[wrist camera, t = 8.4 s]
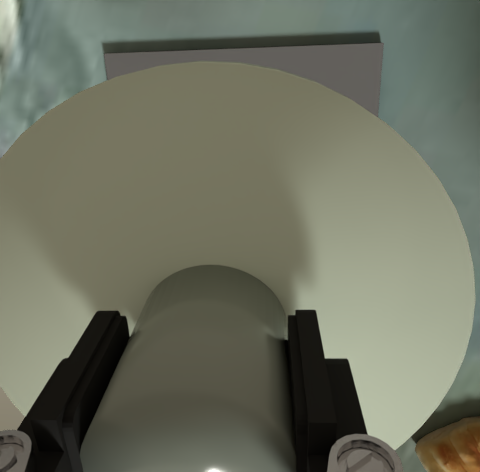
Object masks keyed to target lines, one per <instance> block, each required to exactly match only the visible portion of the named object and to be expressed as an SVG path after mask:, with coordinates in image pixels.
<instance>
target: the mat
mask: <svg viewBox="0 0 480 472" xmlns="http://www.w3.org/2000/svg"><path fill="white" fill-rule="evenodd" d="M383 45H384V43H365V44H339V45H313V46H287V47H261V48H235V49H209V50H183V51H157V52H131V53H106V54H104V58H105V65H106V72H107V79H108V80H110V79H112V78H114V77H118V76H121V75H125V74H129V73H133V72H137V71H141V70H145V69H149V68H152V67H156V66H160V65H166V64H175V63H184V62H193V61H225V62H242V63H248V64H254V65H259V66H265V67H271V68H277V69H280V70H283V71H286V72H289V73H292V74H295V75H299V76H302V77H305V78H308V79H311V80H314V81H316V82H318V83H320V84H322V85H324V86H326V87H328V88H330V89H332V90H334V91H337V92H339V93H341V94H343V95H345V96H347V97H348V98H350V99H351V100H353V101H354V102H356V103H357V104H359V105H360V106H362V107H363V108H365V109H366V110H368V111H369V112H371V113H372V114H374V115H375V116H376V117H378V108H379V95H380V83H381V70H382V58H383Z"/></svg>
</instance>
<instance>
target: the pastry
mask: <svg viewBox="0 0 480 472" xmlns="http://www.w3.org/2000/svg"><path fill="white" fill-rule="evenodd" d="M415 451H416V453H417V455H418V457H419V459H420V461H421V463H422V464H423V466H424V468H425V469H426V470H427V471H428V472H480V416H478V417H466V418H462V419H461V420H460V421H459V422H455V423H452V424H450V425H448V426H445V427H443V428H439V429H437V430H435V431H433V432H431V433H429V434H427V435H425V436H424V437H423V438H421V439H420V440H419V441H418V442H417V445H416V447H415Z"/></svg>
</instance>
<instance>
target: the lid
mask: <svg viewBox="0 0 480 472" xmlns="http://www.w3.org/2000/svg"><path fill="white" fill-rule="evenodd" d="M474 307H475V283H474V268H473V263H472V259H471V254H470V249H469V244H468V239H467V237H466V234H465V231H464V229H463V226H462V224H461V221H460V218H459V216H458V213H457V211H456V208H455V206H454V205H453V203H452V201H451V199H450V198H449V196H448V194H447V192H446V191H445V189H444V187H443V186H442V184H441V182H440V180H439V179H438V177H437V176H436V175H435V174H434V172H433V171H432V170H431V169H430V167H429V166H428V165H427V164H426V162H425V161H424V160H423V159H422V157H421V156H420V155H419V154H418V152H417V151H416V150H415V149H414V148H413V147H412V146H411V145H410V144H409V143H407V142H406V141H405V140H404V139H403V138H402V137H401V136H400V135H399V134H398V133H397V132H395V131H394V130H393V129H392V128H391V127H390V126H389V125H388V124H387V123H385V122H384V121H382V120H381V119H379V118H378V117H376V116H375V115H374V114H372V113H371V112H369V111H368V110H366V109H365V108H363V107H362V106H360V105H359V104H357V103H356V102H354V101H353V100H351V99H350V98H348V97H347V96H345V95H343V94H341V93H339V92H337V91H334V90H332V89H330V88H328V87H326V86H324V85H322V84H320V83H318V82H316V81H314V80H311V79H308V78H305V77H302V76H299V75H295V74H292V73H289V72H286V71H283V70H280V69H277V68H271V67H265V66H259V65H254V64H248V63H242V62H225V61H193V62H184V63H175V64H166V65H160V66H156V67H152V68H149V69H145V70H141V71H137V72H133V73H129V74H125V75H121V76H118V77H114V78H112V79H110V80H107V81H105V82H103V83H100V84H98V85H95V86H93V87H91V88H88V89H86V90H84V91H81V92H79V93H78V94H76V95H74V96H73V97H71V98H69V99H68V100H66V101H64V102H63V103H61V104H60V105H58V106H56V107H55V108H53V109H51V110H50V111H48V112H47V113H46V114H45V115H44V116H42V117H41V118H40V119H39V120H38V121H36V122H35V123H34V124H33V125H32V126H31V127H29V128H28V129H27V130H26V131H25V132H24V133H22V134H21V135H20V137H19V138H18V139H17V140H16V141H15V142H14V144H13V145H12V146H11V147H10V148H9V150H8V151H7V152H6V153H5V154H4V155H3V157H2V158H1V159H0V387H1V388H2V389H3V391H4V392H5V394H6V395H7V396H8V397H9V399H10V400H11V402H12V403H13V404H14V405H15V406H16V407H17V409H18V410H19V411H20V412H21V413H22V414H23V415H24V416H25V417H26V415H27V413H28V412H29V410H30V409H31V407H32V406H33V404H34V402H35V401H36V399H37V398H38V396H39V394H40V393H41V391H42V390H43V388H44V387H45V385H46V383H47V382H48V380H49V379H50V377H51V375H52V374H53V372H54V371H55V369H56V367H57V366H58V364H59V363H60V362H61V361H62V359H64V358H68V357H69V355H70V354H71V352H72V351H73V349H74V347H75V346H76V344H77V342H78V341H79V339H80V338H81V336H82V334H83V333H84V331H85V329H86V328H87V326H88V325H89V323H90V321H91V320H92V318H93V316H94V315H95V313H96V312H97V311H119V312H120V315H121V316H126V318H127V322H128V328H129V335H130V338H129V340H128V342H127V345H126V347H125V349H124V351H123V353H122V356H121V358H120V360H119V362H118V365H117V367H116V369H115V371H114V373H113V376H112V378H111V380H110V382H109V385H108V387H107V389H106V391H105V393H104V396H103V398H102V400H101V402H100V405H99V407H98V409H97V411H96V413H95V416H94V418H93V420H92V422H91V425H90V427H89V429H88V431H87V433H86V436H85V438H84V440H83V443H82V446H81V450H80V459H81V463H82V467H83V472H296V445H295V432H294V419H293V406H292V392H291V379H290V366H289V353H288V315H295V310H316V313H317V318H318V324H319V329H320V334H321V340H322V345H323V350H324V356H325V358H347V359H348V361H349V364H350V368H351V372H352V376H353V379H354V383H355V387H356V391H357V395H358V399H359V403H360V406H361V410H362V414H363V418H364V422H365V426H366V430H367V433H368V435H370V436H373V437H376V438H378V439H380V440H382V441H384V442H386V443H387V444H388V445H389V446H390V447H391V448H393V449H394V450H395V449H397V448H398V447H400V446H401V445H402V444H403V443H404V442H405V441H406V440H407V439H409V438H410V437H411V436H412V435H413V434H414V433H415V432H416V431H417V430H418V429H419V428H420V427H421V426H422V425H423V424H424V423H425V421H426V420H427V419H428V418H429V417H430V415H431V414H432V413H433V412H434V411H435V409H436V408H437V407H438V406H439V404H440V403H441V401H442V399H443V398H444V396H445V395H446V393H447V392H448V390H449V388H450V387H451V385H452V384H453V382H454V379H455V377H456V375H457V373H458V370H459V368H460V366H461V364H462V361H463V359H464V357H465V353H466V349H467V346H468V342H469V339H470V335H471V331H472V325H473V316H474Z"/></svg>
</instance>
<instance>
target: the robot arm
mask: <svg viewBox="0 0 480 472" xmlns="http://www.w3.org/2000/svg"><path fill="white" fill-rule="evenodd" d="M129 338H130V335H129V328H128V322H127V318H126V316H121V315H120V312H119V311H97V312H96V313H95V315H94V316H93V318H92V320H91V321H90V323H89V325H88V326H87V328H86V329H85V331H84V333H83V334H82V336H81V338H80V339H79V341H78V342H77V344H76V346H75V347H74V349H73V351H72V352H71V354H70V355H69V357H68V358H64V359H62V361H61V362H60V363H59V364H58V366H57V367H56V369H55V371H54V372H53V374H52V375H51V377H50V379H49V380H48V382H47V383H46V385H45V387H44V388H43V390H42V391H41V393H40V394H39V396H38V398H37V399H36V401H35V402H34V404H33V406H32V407H31V409H30V410H29V412H28V413H27V415H26V417H25V418H24V420H23V421H22V423H21V425H20V426H19V428H18V429H17V430H5V431H0V472H83V467H82V463H81V459H80V450H81V446H82V443H83V440H84V438H85V436H86V433H87V431H88V429H89V427H90V425H91V422H92V420H93V418H94V416H95V413H96V411H97V409H98V407H99V405H100V402H101V400H102V398H103V396H104V393H105V391H106V389H107V387H108V385H109V382H110V380H111V378H112V376H113V373H114V371H115V369H116V367H117V365H118V362H119V360H120V358H121V356H122V353H123V351H124V349H125V347H126V345H127V342H128V340H129ZM288 353H289V366H290V379H291V392H292V406H293V419H294V432H295V445H296V472H403V467H402V463H401V460H400V458H399V456H398V455H397V453H396V451H395V450H394V449H393V448H391V447H390V446H389V445H388V444H387V443H386V442H384V441H382V440H380V439H378V438H376V437H373V436H370V435H368V433H367V430H366V426H365V422H364V418H363V414H362V410H361V406H360V403H359V399H358V395H357V391H356V387H355V383H354V379H353V376H352V372H351V368H350V364H349V361H348V359H347V358H325V356H324V350H323V345H322V340H321V334H320V329H319V324H318V318H317V313H316V310H295V315H288Z"/></svg>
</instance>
